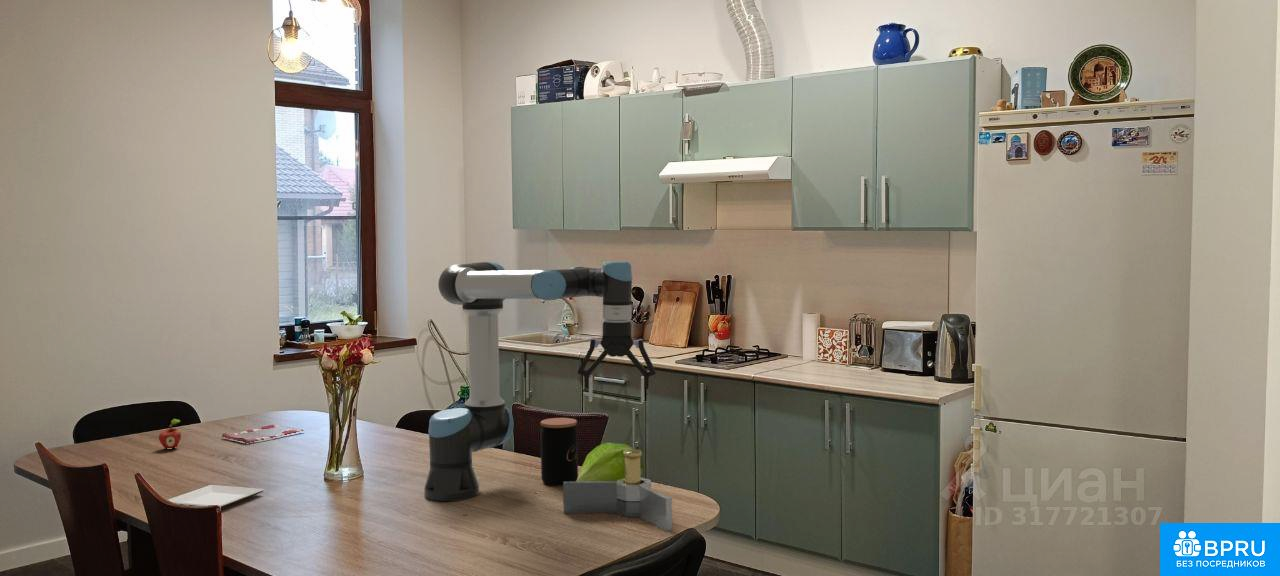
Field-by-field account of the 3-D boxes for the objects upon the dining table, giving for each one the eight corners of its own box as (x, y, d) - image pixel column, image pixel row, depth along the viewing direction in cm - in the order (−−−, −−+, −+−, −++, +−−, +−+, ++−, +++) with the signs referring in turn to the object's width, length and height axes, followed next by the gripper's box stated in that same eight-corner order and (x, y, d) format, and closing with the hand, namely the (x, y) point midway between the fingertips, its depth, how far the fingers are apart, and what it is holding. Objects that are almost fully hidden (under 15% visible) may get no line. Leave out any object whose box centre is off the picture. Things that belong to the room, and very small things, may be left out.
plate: (265, 495, 281) (264, 488, 281) (218, 514, 263) (217, 506, 263) (211, 491, 287) (210, 484, 287) (161, 508, 269) (161, 501, 269)
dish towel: (220, 440, 357) (220, 433, 357) (278, 429, 376) (278, 422, 376) (246, 446, 347) (246, 439, 347) (305, 434, 366) (304, 427, 365)
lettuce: (604, 515, 265) (568, 511, 276) (660, 481, 280) (624, 478, 291) (589, 463, 263) (554, 462, 274) (647, 432, 278) (611, 431, 289)
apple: (175, 451, 338) (174, 422, 338) (155, 451, 338) (154, 422, 338) (186, 446, 346) (184, 417, 345) (166, 446, 346) (165, 418, 346)
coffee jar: (572, 487, 285) (571, 425, 283) (536, 485, 287) (535, 424, 286) (582, 478, 295) (581, 418, 294) (547, 476, 297) (546, 417, 296)
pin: (623, 514, 257) (622, 453, 256) (624, 509, 262) (623, 449, 261) (642, 514, 257) (641, 453, 256) (642, 509, 262) (641, 449, 261)
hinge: (556, 531, 244) (556, 499, 243) (565, 507, 264) (565, 477, 264) (672, 531, 243) (671, 498, 242) (672, 507, 263) (671, 477, 263)
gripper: (567, 321, 254) (567, 403, 256) (665, 322, 254) (664, 404, 255) (570, 318, 262) (570, 398, 264) (665, 319, 261) (664, 399, 263)
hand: (616, 401), depth 260 cm, fingers open, 13 cm apart
